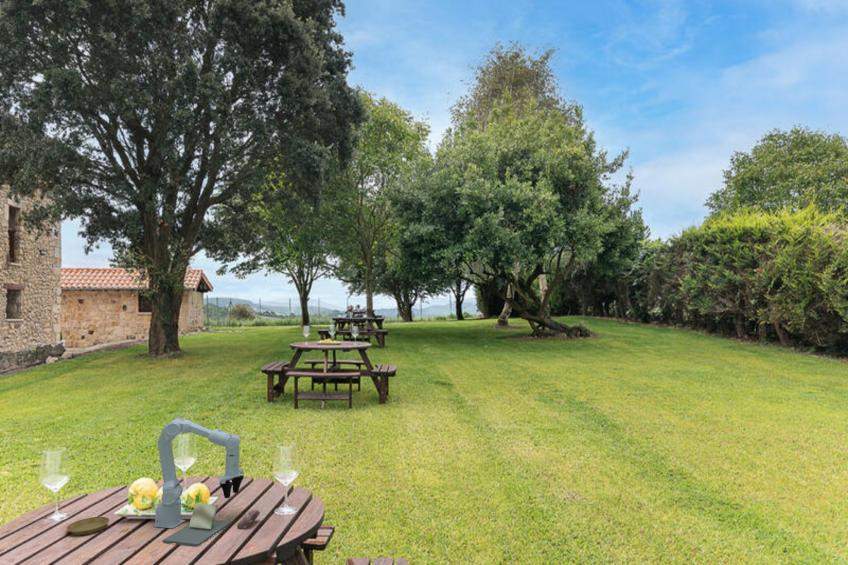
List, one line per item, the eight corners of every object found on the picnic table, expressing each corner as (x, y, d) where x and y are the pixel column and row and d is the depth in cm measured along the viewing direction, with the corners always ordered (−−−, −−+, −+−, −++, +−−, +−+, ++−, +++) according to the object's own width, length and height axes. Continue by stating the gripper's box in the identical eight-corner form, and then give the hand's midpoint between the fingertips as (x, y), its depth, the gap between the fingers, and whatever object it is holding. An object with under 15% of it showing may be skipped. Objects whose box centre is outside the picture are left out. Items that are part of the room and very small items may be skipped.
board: (162, 542, 196) (162, 540, 196) (198, 520, 217) (198, 518, 217) (198, 546, 192) (198, 544, 192) (231, 523, 214) (231, 521, 214)
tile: (211, 529, 205) (210, 528, 204) (190, 526, 207) (188, 526, 206) (217, 505, 210) (216, 505, 209) (197, 503, 212) (195, 503, 211)
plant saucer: (71, 541, 197) (72, 534, 197) (62, 530, 207) (62, 524, 207) (113, 529, 208) (114, 523, 208) (103, 520, 218) (103, 513, 218)
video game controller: (244, 533, 208) (251, 518, 208) (235, 527, 209) (242, 512, 209) (256, 524, 218) (263, 509, 217) (248, 518, 219) (255, 504, 218)
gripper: (230, 469, 212) (229, 501, 211) (249, 459, 226) (248, 490, 225) (216, 468, 214) (215, 500, 213) (235, 458, 228) (234, 489, 227)
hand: (231, 495), depth 219 cm, fingers open, 6 cm apart
